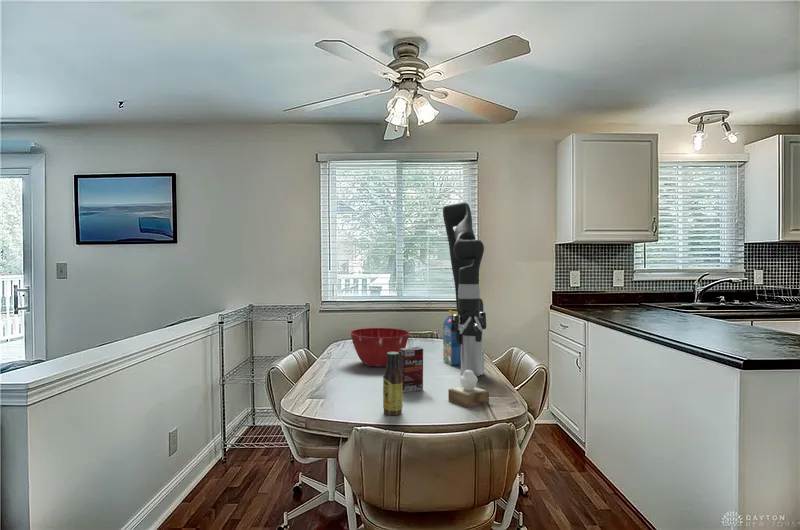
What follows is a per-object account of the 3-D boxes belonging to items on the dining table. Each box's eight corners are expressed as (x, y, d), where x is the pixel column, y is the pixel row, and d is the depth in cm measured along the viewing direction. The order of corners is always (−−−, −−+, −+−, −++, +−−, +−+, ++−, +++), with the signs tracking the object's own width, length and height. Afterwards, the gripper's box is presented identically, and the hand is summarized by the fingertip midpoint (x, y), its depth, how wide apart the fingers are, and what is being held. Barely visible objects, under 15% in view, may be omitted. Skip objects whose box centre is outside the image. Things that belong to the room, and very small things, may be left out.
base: (469, 396, 180) (469, 384, 180) (489, 402, 172) (489, 390, 172) (448, 400, 175) (448, 388, 175) (467, 407, 167) (467, 394, 167)
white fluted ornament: (457, 387, 176) (457, 368, 176) (473, 386, 177) (473, 367, 177) (463, 392, 170) (463, 371, 170) (480, 391, 171) (480, 371, 171)
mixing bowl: (420, 362, 240) (420, 330, 240) (388, 373, 216) (388, 338, 215) (373, 355, 255) (373, 326, 255) (337, 366, 231) (337, 333, 231)
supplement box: (403, 392, 185) (403, 350, 185) (398, 389, 189) (397, 348, 189) (423, 390, 189) (423, 348, 189) (417, 387, 193) (417, 346, 193)
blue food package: (451, 366, 230) (451, 312, 230) (443, 360, 242) (443, 310, 242) (463, 365, 232) (463, 312, 231) (455, 360, 243) (455, 309, 243)
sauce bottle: (382, 410, 164) (382, 350, 164) (401, 409, 164) (401, 350, 164) (383, 416, 157) (383, 354, 157) (403, 416, 158) (403, 354, 158)
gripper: (476, 295, 180) (476, 339, 180) (446, 297, 172) (446, 343, 172) (491, 296, 174) (491, 342, 174) (460, 298, 166) (460, 346, 166)
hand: (469, 343), depth 173 cm, fingers open, 8 cm apart
